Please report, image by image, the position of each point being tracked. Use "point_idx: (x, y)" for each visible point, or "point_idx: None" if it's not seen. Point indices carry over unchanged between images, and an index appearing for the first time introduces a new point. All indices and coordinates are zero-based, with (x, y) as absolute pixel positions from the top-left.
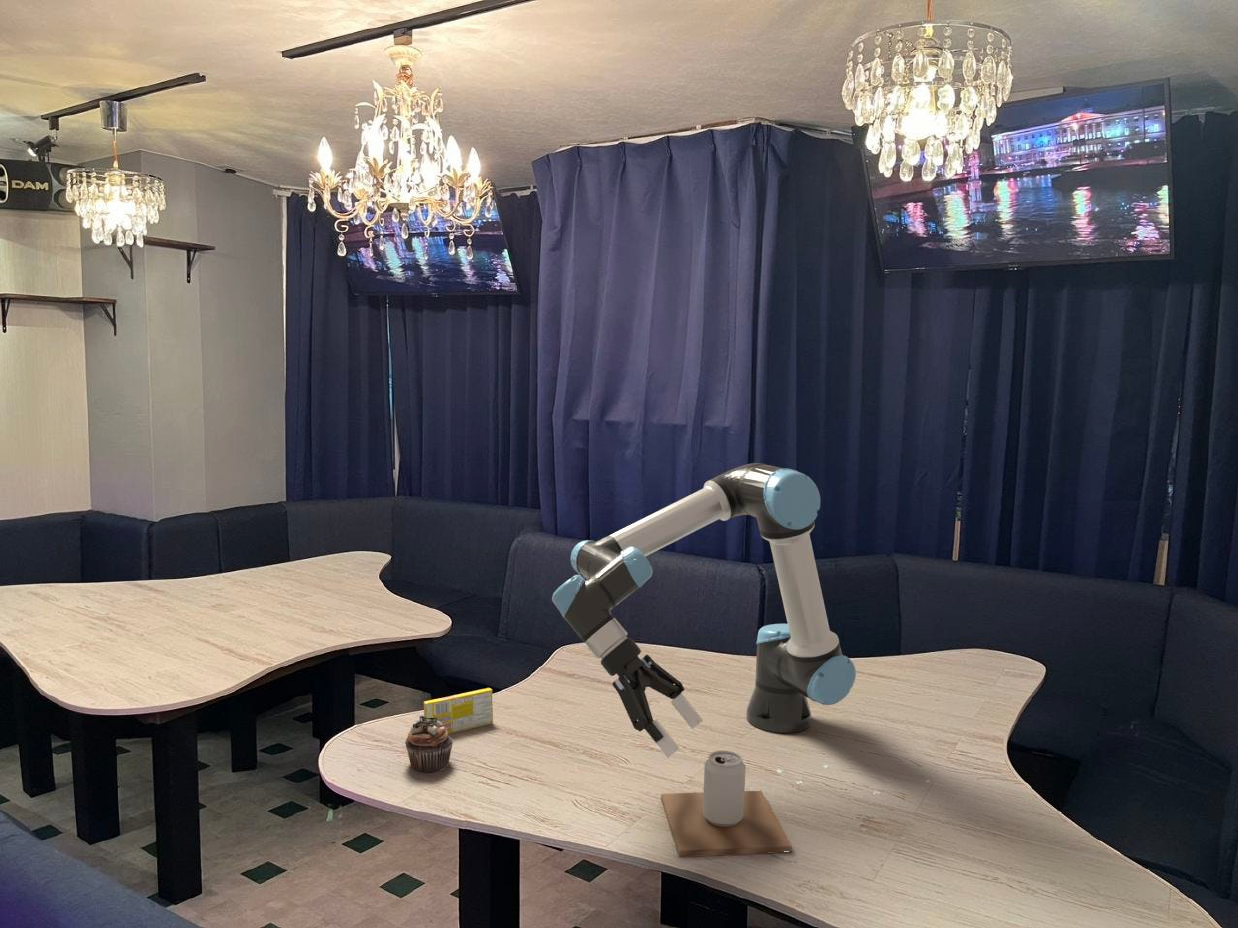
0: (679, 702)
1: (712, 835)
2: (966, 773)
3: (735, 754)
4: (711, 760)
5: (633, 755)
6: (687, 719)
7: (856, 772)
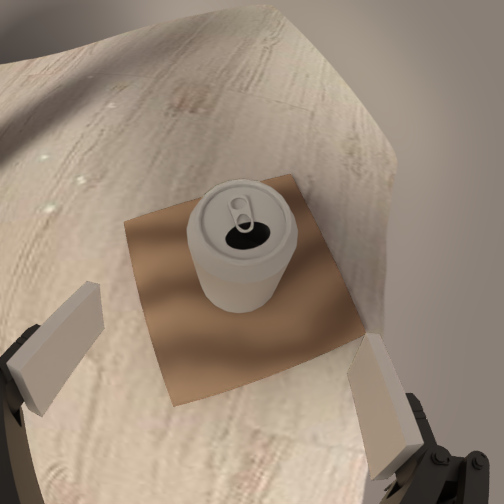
0: (44, 375)
1: (303, 288)
2: (81, 60)
3: (210, 197)
4: (276, 253)
5: (35, 455)
6: (85, 343)
7: (63, 126)
